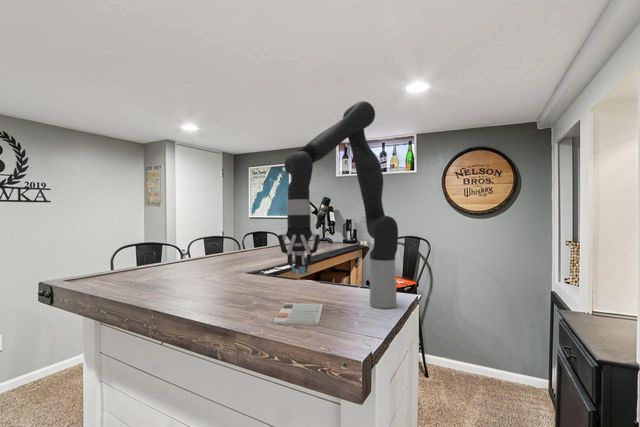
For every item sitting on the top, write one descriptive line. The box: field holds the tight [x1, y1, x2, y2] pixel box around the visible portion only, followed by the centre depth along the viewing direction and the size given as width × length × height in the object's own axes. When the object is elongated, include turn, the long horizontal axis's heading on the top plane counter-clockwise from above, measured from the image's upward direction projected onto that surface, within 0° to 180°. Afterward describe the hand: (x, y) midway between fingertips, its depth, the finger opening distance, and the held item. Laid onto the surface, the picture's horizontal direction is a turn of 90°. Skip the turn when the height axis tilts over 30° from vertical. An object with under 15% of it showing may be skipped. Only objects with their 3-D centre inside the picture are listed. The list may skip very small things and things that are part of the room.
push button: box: [291, 243, 312, 275], centre depth 101 cm, size 7×5×10 cm
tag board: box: [272, 302, 324, 326], centre depth 104 cm, size 14×20×1 cm
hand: (299, 265), depth 101 cm, fingers closed on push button, 5 cm apart
